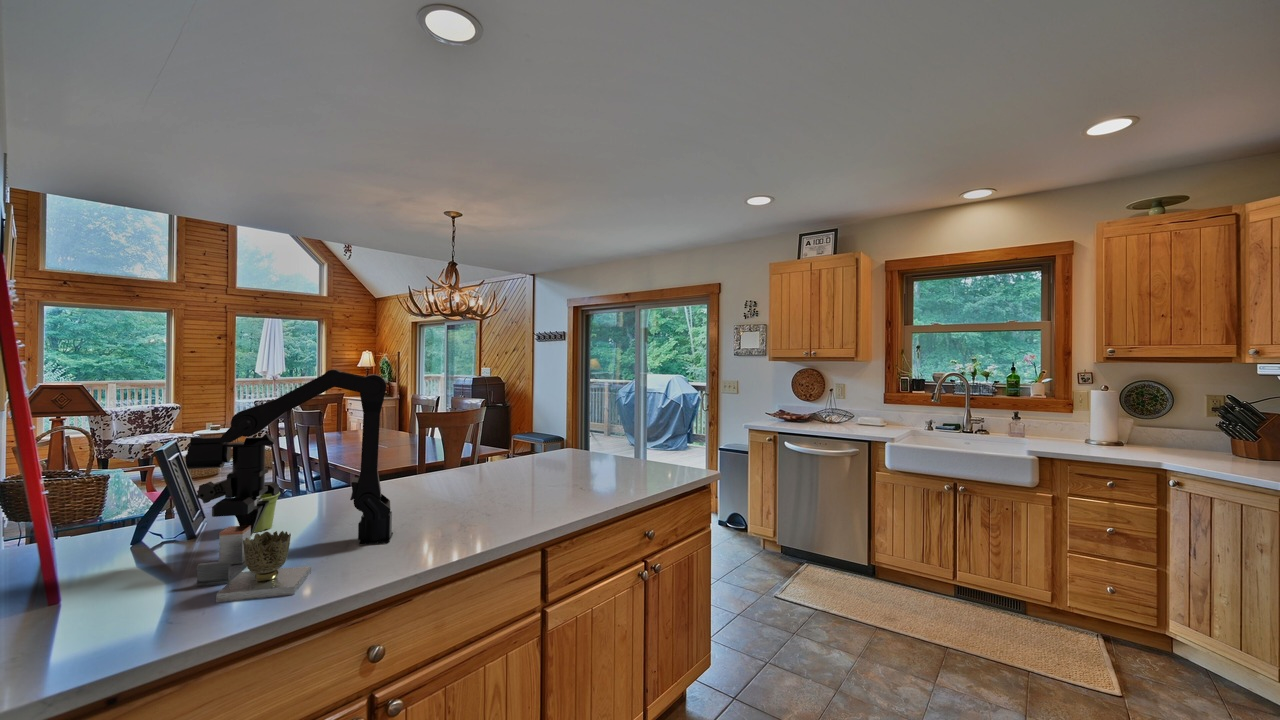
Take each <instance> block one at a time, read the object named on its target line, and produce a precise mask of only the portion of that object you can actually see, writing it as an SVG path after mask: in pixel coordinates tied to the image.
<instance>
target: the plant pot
mask: <svg viewBox="0 0 1280 720" xmlns="http://www.w3.org/2000/svg"><path fill="white" fill-rule="evenodd" d="M280 495H281V492H280V491H279V494H277V495H276V496H272V494H263V495H262V496H260V498H262V501H269V503H268V505H267V507H266V508H265V510H264V512H263V514H262V516H261V518H260V520H259V522H258V524H257V526H256V528H255V530H254V532H253V533H259V532H263V531H264V530H270V529H271V528H272V527H273V523H274V517H275V510H276V505H277V501H278V499H279V496H280Z"/></svg>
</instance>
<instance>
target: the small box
mask: <svg viewBox="0 0 1280 720" xmlns="http://www.w3.org/2000/svg"><path fill="white" fill-rule="evenodd" d="M218 536H219V538H218V539H219V543H218V544H219V545H218V562H223V561H231V564H239V563H243V562H244V561H245V555H244V546H243V540H245V539H246V538H249V540H251V539H252V538H251V537H252V536H251V525H247V526H240V525H235V526H234V525H233V526H227V527H226V528H224V529H223V530H221V531H220V532H219V535H218Z"/></svg>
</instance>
